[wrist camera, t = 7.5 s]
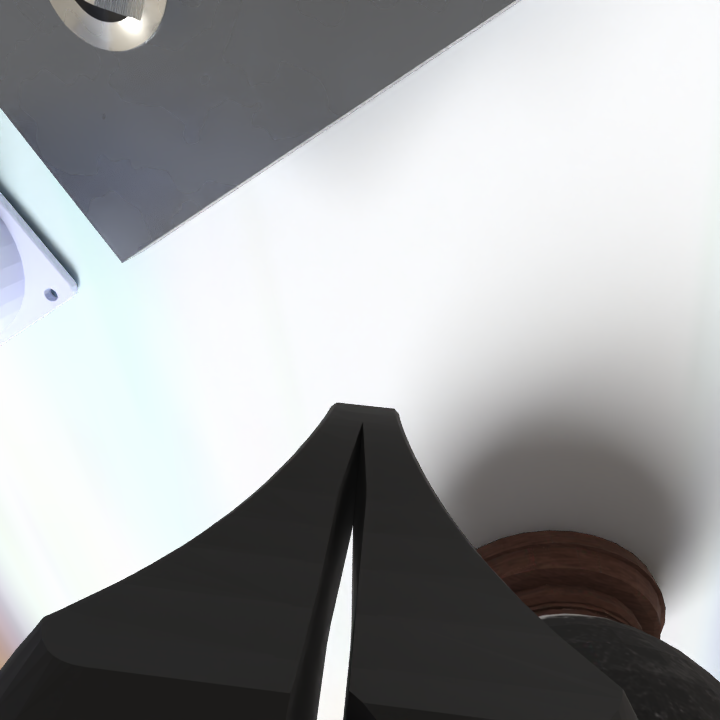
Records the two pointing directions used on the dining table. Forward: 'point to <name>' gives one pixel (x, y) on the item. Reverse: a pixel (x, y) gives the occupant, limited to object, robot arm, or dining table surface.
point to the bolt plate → (200, 91)
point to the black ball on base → (606, 617)
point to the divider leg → (121, 7)
